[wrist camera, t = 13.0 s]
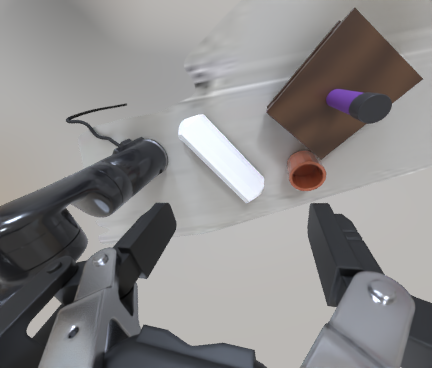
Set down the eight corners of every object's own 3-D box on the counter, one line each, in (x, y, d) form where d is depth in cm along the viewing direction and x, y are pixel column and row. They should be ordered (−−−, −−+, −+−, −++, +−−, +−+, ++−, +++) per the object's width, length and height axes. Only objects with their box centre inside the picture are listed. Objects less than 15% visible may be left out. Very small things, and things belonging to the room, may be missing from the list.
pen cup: (280, 165, 39) (282, 177, 34) (303, 144, 36) (309, 155, 31) (300, 181, 40) (305, 196, 35) (325, 163, 37) (334, 176, 32)
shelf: (266, 105, 34) (266, 112, 27) (333, 25, 26) (354, 7, 20) (311, 144, 36) (321, 159, 29) (386, 78, 28) (423, 79, 21)
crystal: (165, 140, 39) (239, 210, 44) (173, 123, 33) (258, 207, 37) (186, 122, 42) (252, 189, 47) (197, 104, 36) (272, 183, 41)
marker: (321, 99, 25) (351, 112, 16) (337, 83, 24) (379, 87, 14) (333, 110, 25) (369, 129, 16) (349, 95, 24) (399, 106, 15)
